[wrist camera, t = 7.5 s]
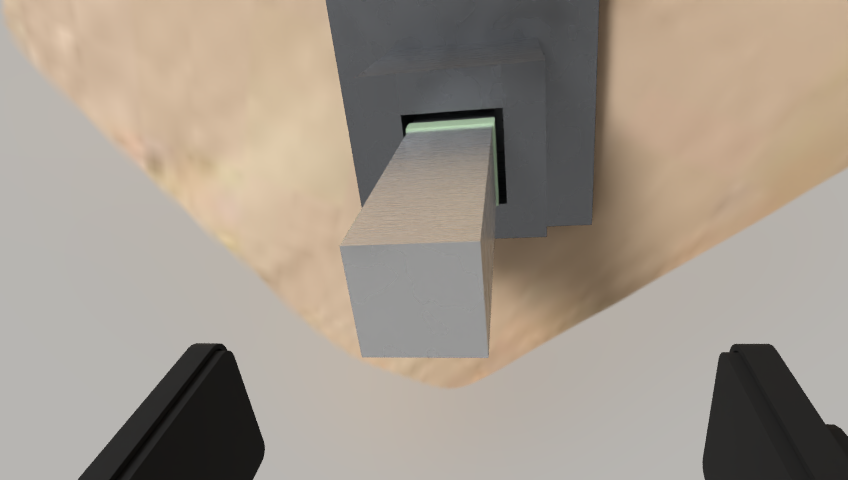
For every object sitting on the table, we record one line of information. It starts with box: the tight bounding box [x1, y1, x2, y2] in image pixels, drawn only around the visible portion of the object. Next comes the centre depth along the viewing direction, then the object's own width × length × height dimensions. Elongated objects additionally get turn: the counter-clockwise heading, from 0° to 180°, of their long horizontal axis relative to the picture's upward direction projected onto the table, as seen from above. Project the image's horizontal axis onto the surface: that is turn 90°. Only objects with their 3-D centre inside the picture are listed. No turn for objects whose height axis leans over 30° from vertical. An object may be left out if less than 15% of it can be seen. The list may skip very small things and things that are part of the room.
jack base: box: [326, 0, 599, 239], centre depth 32 cm, size 16×16×10 cm
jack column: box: [340, 108, 499, 358], centre depth 23 cm, size 4×4×16 cm
